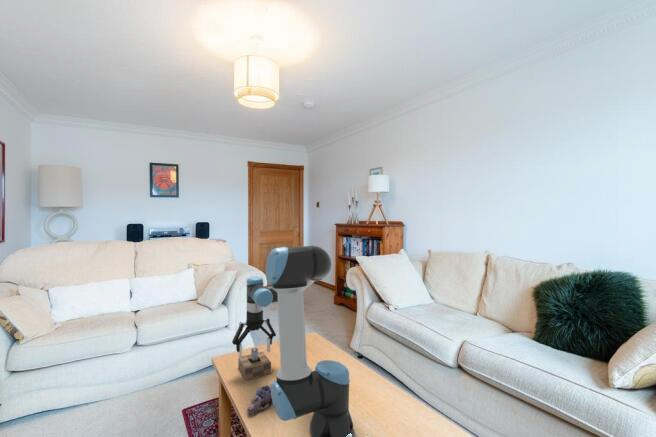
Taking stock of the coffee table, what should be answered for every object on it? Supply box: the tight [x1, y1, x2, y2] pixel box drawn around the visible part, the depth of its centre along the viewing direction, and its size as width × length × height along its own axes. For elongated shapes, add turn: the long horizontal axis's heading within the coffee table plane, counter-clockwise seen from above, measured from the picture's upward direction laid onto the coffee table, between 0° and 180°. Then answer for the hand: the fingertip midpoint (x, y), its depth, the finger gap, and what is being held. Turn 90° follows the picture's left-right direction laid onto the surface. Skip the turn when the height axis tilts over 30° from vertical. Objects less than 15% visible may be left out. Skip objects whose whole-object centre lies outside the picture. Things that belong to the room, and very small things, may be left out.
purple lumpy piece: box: [246, 384, 273, 415], centre depth 118 cm, size 12×8×6 cm, turn 143°
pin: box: [250, 347, 259, 363], centre depth 144 cm, size 3×3×10 cm
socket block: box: [237, 351, 272, 381], centre depth 144 cm, size 12×12×5 cm
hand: (254, 354), depth 144 cm, fingers open, 13 cm apart
